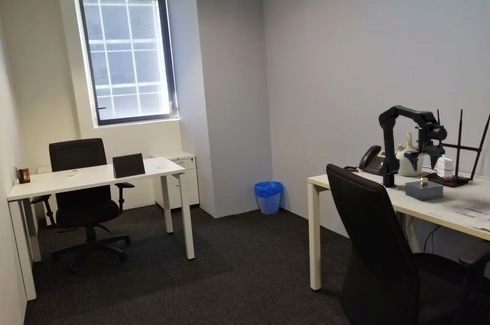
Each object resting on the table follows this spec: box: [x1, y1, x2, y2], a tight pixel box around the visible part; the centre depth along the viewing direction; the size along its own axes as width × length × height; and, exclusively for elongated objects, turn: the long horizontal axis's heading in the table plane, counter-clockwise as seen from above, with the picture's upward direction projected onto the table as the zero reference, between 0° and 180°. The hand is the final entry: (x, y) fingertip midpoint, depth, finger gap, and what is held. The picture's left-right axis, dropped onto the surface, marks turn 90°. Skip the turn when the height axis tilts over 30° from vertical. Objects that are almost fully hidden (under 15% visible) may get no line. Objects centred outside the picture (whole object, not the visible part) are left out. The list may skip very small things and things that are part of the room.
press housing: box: [404, 180, 444, 202], centre depth 190 cm, size 12×12×6 cm
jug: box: [395, 132, 425, 177], centre depth 231 cm, size 15×16×25 cm
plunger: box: [419, 177, 429, 185], centre depth 190 cm, size 9×9×8 cm
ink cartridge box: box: [436, 154, 454, 179], centre depth 214 cm, size 9×5×15 cm, turn 178°
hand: (424, 170), depth 188 cm, fingers open, 9 cm apart
